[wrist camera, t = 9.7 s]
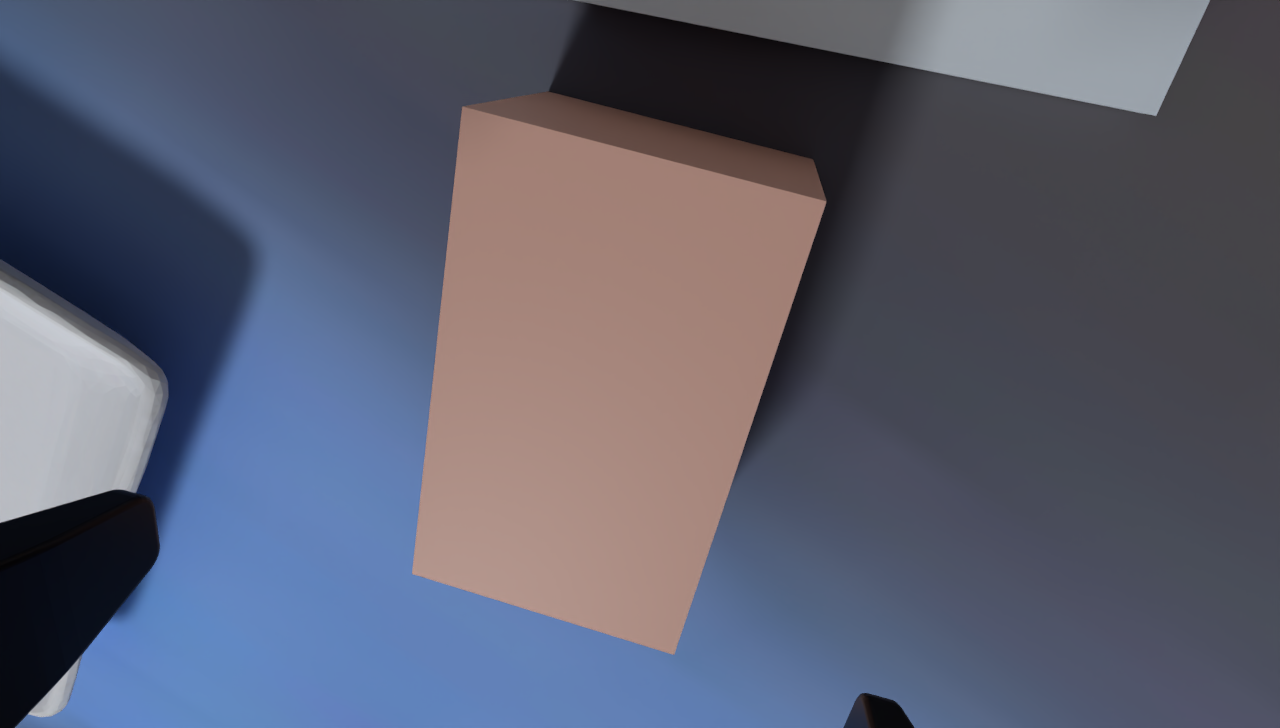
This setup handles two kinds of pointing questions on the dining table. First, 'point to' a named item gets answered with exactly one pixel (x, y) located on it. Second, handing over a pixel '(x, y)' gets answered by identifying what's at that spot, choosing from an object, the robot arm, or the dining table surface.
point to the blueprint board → (979, 38)
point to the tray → (68, 412)
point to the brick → (602, 355)
